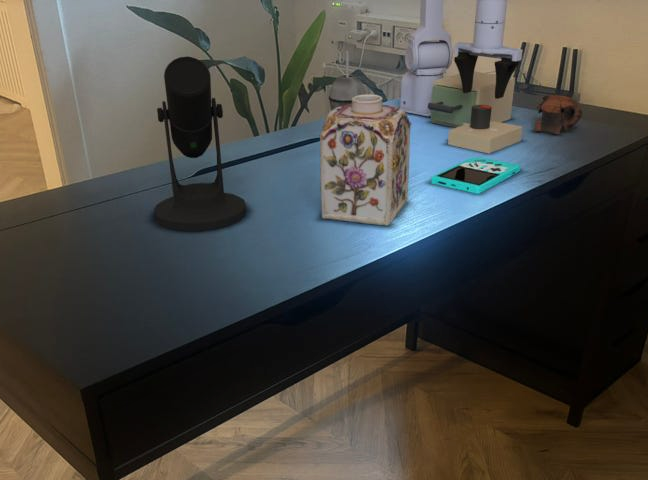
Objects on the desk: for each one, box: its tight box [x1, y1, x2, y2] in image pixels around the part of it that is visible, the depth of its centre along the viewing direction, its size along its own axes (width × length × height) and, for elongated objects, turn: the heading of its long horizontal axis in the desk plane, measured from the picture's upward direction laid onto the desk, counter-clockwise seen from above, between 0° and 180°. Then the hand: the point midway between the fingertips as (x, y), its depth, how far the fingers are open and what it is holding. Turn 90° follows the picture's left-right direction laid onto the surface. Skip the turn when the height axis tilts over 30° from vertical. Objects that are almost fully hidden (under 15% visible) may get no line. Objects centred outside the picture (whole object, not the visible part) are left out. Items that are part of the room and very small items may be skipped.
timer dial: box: [470, 105, 492, 129], centre depth 152 cm, size 4×4×4 cm
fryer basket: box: [428, 85, 477, 126], centre depth 164 cm, size 18×11×7 cm, turn 136°
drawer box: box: [430, 71, 516, 128], centre depth 167 cm, size 14×12×9 cm
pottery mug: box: [533, 94, 583, 135], centre depth 160 cm, size 12×10×8 cm
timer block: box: [447, 121, 523, 155], centre depth 153 cm, size 11×12×3 cm
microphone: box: [153, 56, 247, 232], centre depth 114 cm, size 15×17×25 cm
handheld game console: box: [430, 157, 521, 195], centre depth 134 cm, size 10×16×1 cm, turn 141°
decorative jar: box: [319, 93, 412, 227], centre depth 116 cm, size 12×12×18 cm
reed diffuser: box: [328, 50, 367, 111], centre depth 141 cm, size 7×7×20 cm
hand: (482, 95), depth 150 cm, fingers open, 7 cm apart
